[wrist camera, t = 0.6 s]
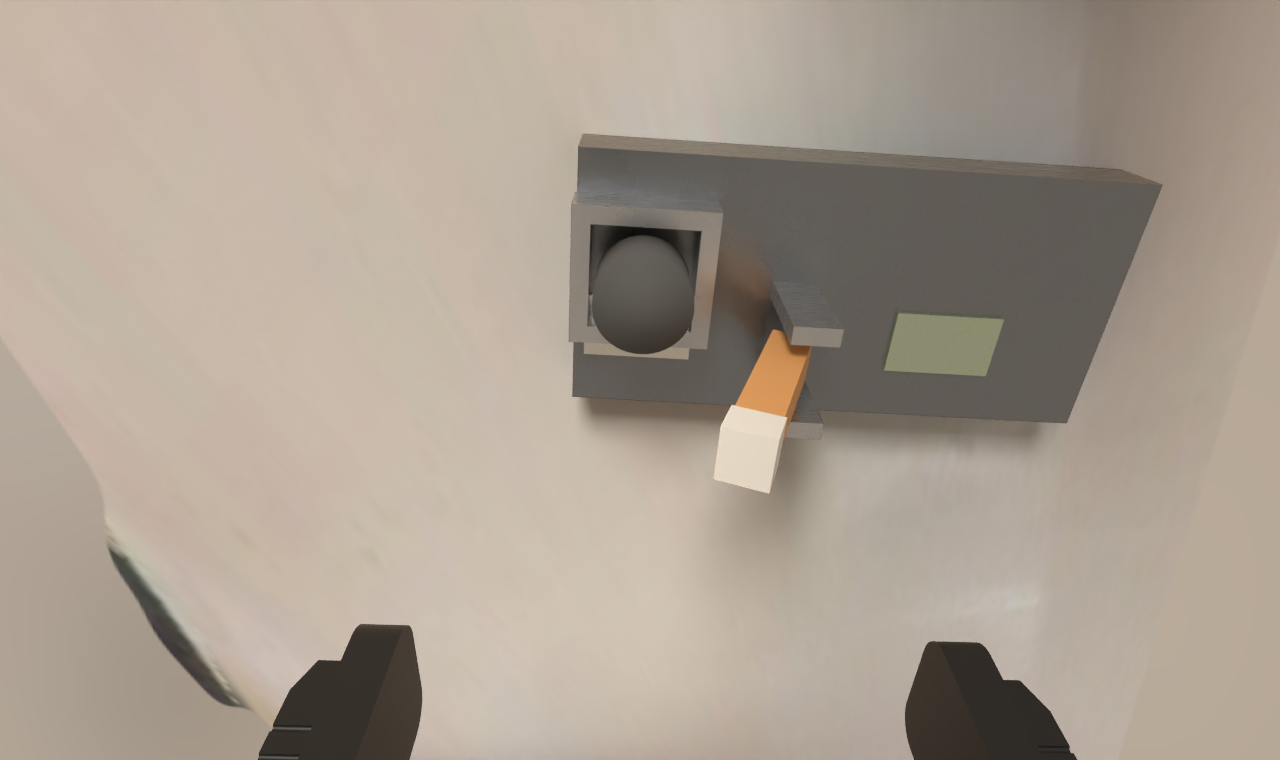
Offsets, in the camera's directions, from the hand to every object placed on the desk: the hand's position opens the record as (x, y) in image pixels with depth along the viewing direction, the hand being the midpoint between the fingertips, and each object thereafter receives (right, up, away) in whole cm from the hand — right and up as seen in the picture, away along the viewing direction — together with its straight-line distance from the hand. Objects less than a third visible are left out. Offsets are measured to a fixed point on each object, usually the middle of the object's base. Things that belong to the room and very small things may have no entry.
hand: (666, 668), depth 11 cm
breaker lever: (+7, +6, +22) cm, 23 cm away
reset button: (0, +9, +19) cm, 21 cm away
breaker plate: (+9, +10, +25) cm, 28 cm away
